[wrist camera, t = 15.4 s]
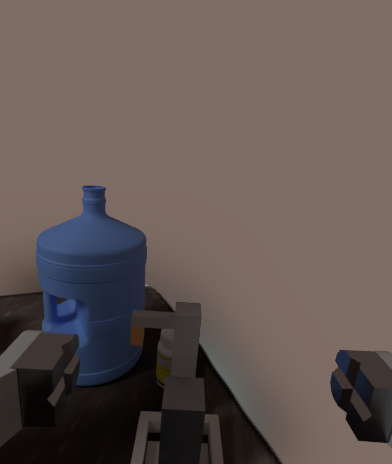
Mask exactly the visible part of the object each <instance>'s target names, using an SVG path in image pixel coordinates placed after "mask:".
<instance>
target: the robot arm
mask: <svg viewBox="0 0 392 464" xmlns="http://www.w3.org/2000/svg"><path fill="white" fill-rule="evenodd" d="M78 348H79V336H78V335H77V334H73V333H61V332H49V331H44V332H43V331H34V330H27V331H24V332H22V333H21V334H20V335H19V337H18V338H17V339H16V340H15V341H14V342H13V343H12V344H11V345H10V346H9V347H8V348H7V349H6V351H5V352H4V353H3V354H2V355H1V356H0V446H2V445H3V444H4V443H5V442H6V441H8V440H9V439H10V438H11V437H12V436H14V435H15V434H16V433H17V432H18V431H20V430H21V429H22V426H31V427H55V426H56V424H57V422H58V420H59V418H60V416H61V414H62V412H63V410H64V408H65V406H66V396H68V395H69V394H71V393H72V392H73V389H74V387H75V385H76V382H77V379H78V375H79V368H80V358H79V357H78V356H77V354H76V351H77V349H78ZM335 361H336V363H337V365H338V368H337V369H336V370H335V371H333V372H332V376H331V381H330V383H331V391H332V395H333V397H334V400H335V402H336V403H337V405H338V406H339V407H340V408H341V409H343V410H344V411H345V412H346V413H347V415H346V421H347V422H348V424H349V426H350V427H351V429H352V431H353V433H354V434H355V436H356V438H357V439H358V441H369V442H381V443H389V446H390V447H391V448H392V353H390V352H387V351H353V350H340V351H339V352H338V353H337V356H336V360H335Z"/></svg>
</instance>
